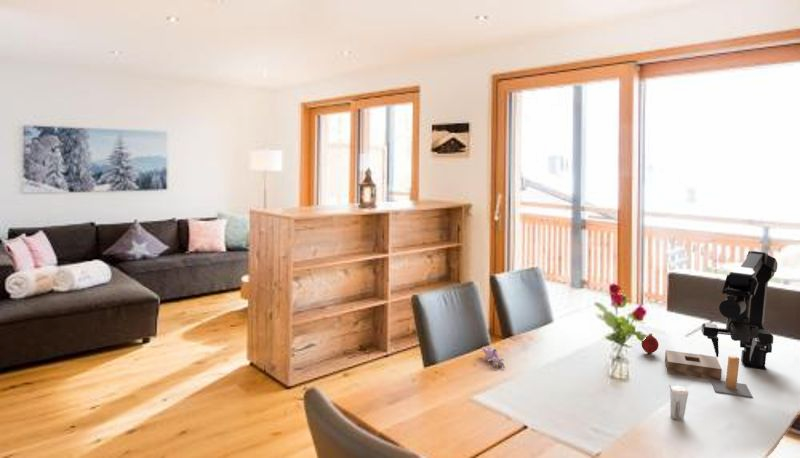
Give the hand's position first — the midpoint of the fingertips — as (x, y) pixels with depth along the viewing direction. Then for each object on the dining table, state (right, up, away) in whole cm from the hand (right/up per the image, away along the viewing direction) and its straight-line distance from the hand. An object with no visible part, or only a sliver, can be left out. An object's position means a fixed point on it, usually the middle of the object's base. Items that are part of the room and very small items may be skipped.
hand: (733, 358), depth 170 cm
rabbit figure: (-73, -7, +22) cm, 77 cm away
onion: (-12, -6, +31) cm, 34 cm away
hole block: (-5, -8, +16) cm, 18 cm away
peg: (0, -10, +1) cm, 10 cm away
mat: (0, -10, +1) cm, 10 cm away
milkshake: (-28, -13, -18) cm, 36 cm away
